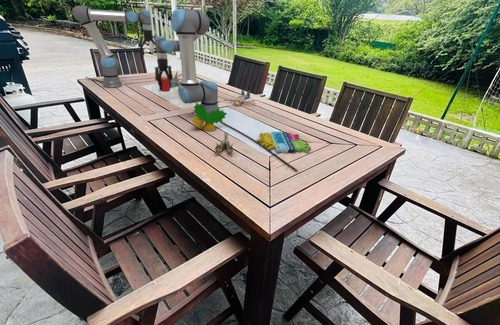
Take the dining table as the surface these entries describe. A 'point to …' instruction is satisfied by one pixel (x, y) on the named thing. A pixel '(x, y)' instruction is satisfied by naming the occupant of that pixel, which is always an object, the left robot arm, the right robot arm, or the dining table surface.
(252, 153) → the dining table surface
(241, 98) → the toy
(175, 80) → the airplane
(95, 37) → the left robot arm
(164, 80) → the can
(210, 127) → the ornament
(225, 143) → the jawbone
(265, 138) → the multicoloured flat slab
